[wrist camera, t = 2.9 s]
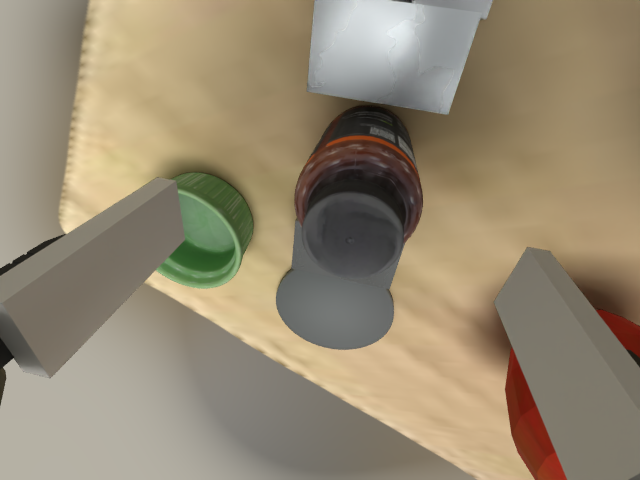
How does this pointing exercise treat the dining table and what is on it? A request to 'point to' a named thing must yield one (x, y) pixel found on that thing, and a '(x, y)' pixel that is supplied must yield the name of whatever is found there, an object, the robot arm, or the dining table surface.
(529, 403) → the apple
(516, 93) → the dining table surface
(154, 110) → the dining table surface
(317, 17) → the vise
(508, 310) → the robot arm
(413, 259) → the dining table surface
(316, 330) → the coaster
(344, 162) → the supplement bottle
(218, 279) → the ramekin
